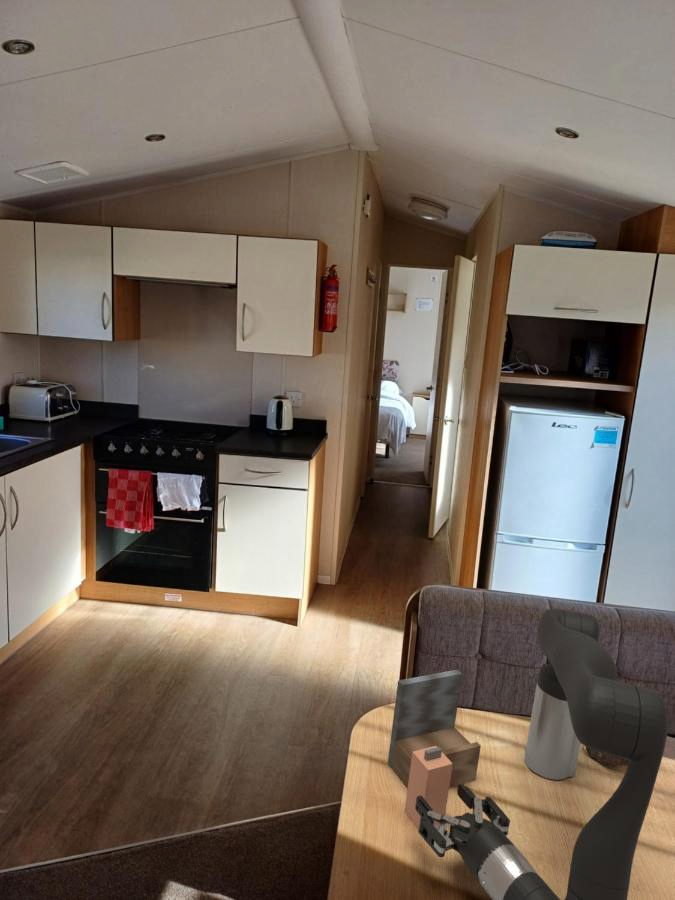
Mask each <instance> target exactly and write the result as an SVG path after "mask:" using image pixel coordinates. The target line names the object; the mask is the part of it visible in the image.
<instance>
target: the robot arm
mask: <svg viewBox="0 0 675 900" xmlns="http://www.w3.org/2000/svg"><path fill="white" fill-rule="evenodd" d="M537 640H538V644H539V647H540V651H541V652H542V654H543V655H544V656H545V657H546V658H547V660H549V662H550V663H548V664H546V665H544V666H542V667H541V668H540V669H539V672H538V674H537V675H538V676H537V682H536V687H535V691H534V692H535V693H534V698H533V699H534V700H533V703H532V704H533V705H532V711H531V716H530V722H529V726H528V727H529V728H528V732H527V739H526V745H525V749H524V758H523V759H524V763H525V764H526V766H527V768H529V770H531V771H532V772H534V773H535V774H537V775H539V776H540V777H543V778H545V779H549V780H555V781H558V780H565V779H567V778H575V775H576V769H577V764H578V759H579V755H580V754H579V753H580V749H581V745H582V746H584V747H585V748H586V747H588V748H590V749H592V750H595V751H598V752H602V753H606V754H610V755H614V756H618V757H622V758H627V759H629V761H628V765H627V766H626V768H625V769H626V770H625V772H624V775H623V777H622V779H621V781H620V783H619V785H618V787H617V788H616V790H615V791H614V792H613V793H612V795H611V796H610V797H609V799H608V800H607V801H606V802H605V803H604V804H603V806H602V807H601V808H600V809H598V810H597V812H596V813H595V814H594V815H593V816H592V817H591V818H590V819H589V820H588V821H587V822H586V824H585V825H584V826H583V828H582V829H581V831H580V832H579V834H578V836H577V838H576V840H575V844H574V847H573V851H572V855H571V862H570V868H569V875H568V881H567V882H568V883H567V887H566V888H567V889H566V895H565V898H564V900H628V897H629V896H628V895H629V889H630V882H631V876H632V875H631V874H632V867H633V862H634V857H635V853H636V849H637V844H638V841H639V836H640V835H641V834H640V833H641V831H642V827H643V824H644V822H645V818H646V814H647V811H648V808H649V806H650V802H651V798H652V795H653V791H654V788H655V784H656V780H657V777H658V774H659V772H660V767H661V765H662V760H663V756H664V753H665V749H666V743H667V742H666V741H667V737H668V729H669V725H668V724H669V717H668V716H669V714H668V710H667V706H666V703H665V699H664V697H663V696H662V694H660V693H659V692H658V691H657V690H654V689H652V688H649V687H645V686H641V685H636V684H632V683H631V684H630V683H626V682H622V681H619V680H618V678H619V675H618V668H617V666H616V663H615V660H614V659H613V658H612V656H611V654H610V653H609V652H608V650H607V649H606V648H605V647H604V645H603V644H602V643H600V641H599V640H600V625H599V621H598V620H597V617H596V616H594V615H592V614H589V613H586V612H585V613H584V612H579V611H573V610H567V609H560V608H549V609H547V610H545V611H544V612H543V613H542V614H541V616H540V617H539V621H538V624H537ZM456 795H457V796H458V798H459V799H460V800H461V801H462V802H463V803H464V805H465V806H467V808H468V809H469V810H472V813H470V812H465V813H463V814H462V815H456V816H451V815H449V814H447V813H445V814H443V815H440V814H438V813H435V812H433V809H432V808H431V807H430V805H429V804H428V803H427V802H426V800H425V799H424V798H423V797H422V796H421V795H420V796H417V798H416V805H415V809H416V811H417V812H418V814H419V815H420V816H421V818H420V825H419V830H418V834H419V835H420V836H421V838H422V839H423V840H424V841H425V842H426V843H427V845H428V846H429V847H430V849H432V851H433V852H434V853H435V854H436V856H438V857H439V858H444V857H445V853H446V852H447V851H450V850H453V851H455V852H456V853H458V854H459V855H460V856H461V859H462V861H463V863H464V865H465V866H466V868H467V869H468V870H469V872H470V873H471V874H472V876H473V877H474V878H475V879H476V881H477V882H478V883H479V884H480V886H481V887H482V888H483V890H484V891H485V892H486V894H487V895H488V896H489V898H491V900H562V899H561V898H559V897H558V896H557V894H556V893H555V892H554V891H553V889H552V888H551V887H550V886H549V885H548V884H547V883H546V882H545V881H544V880H543V878H542V877H541V875H539V873H537V871H536V870H535V868H534V867H533V865H532V864H531V863H530V861H529V860H528V858H526V856H525V855H524V854H523V853H522V852H521V851H520V850H519V849H518V847H517V846H515V844H514V843H513V842H512V841H511V840H510V838H508V834H509V829H510V824H511V819H510V818H509V817H508V816H507V815H506V813H505V812H504V811H503V810H502V809H501V808H500V806H499V805H498V804H497V803H496V802H495V800H494V799H493V798H492V797H490V796H486V797H485V798H481V797H480V796H477V795H476V794H475V793H474V792H473V791H472V790H471V789H470V787H468V786H467V785H465V783H463V784H459V785H457V790H456ZM483 813H484V814H483ZM483 815H485V816H486V817H487V818H488V819H489V820H488V819H486V818H484V817H483ZM434 820H435V821H437V822H439V823H440V825H438V824H435V823H434ZM447 824H448V825H449V831H448V830H447Z"/></svg>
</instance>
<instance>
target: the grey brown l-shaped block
mask: <svg viewBox="0 0 675 900" xmlns="http://www.w3.org/2000/svg"><path fill="white" fill-rule="evenodd" d="M462 680H463V672H461V671H460V670H459V669H453V670H447V671H443V672H437V673H432V674H425V675H421V676H416V677H411V678H405V679H399V680H397V688H396V693H395V694H396V695H395V702H394V710H393V718H392V719H393V720H392V726H391V734H390V744H389V748H388V749H389V750H388V758H387V764H388V766H389V767H390V768H391V769H392V770H393V772H394V773H395V774H396V776H397V777H398V778H399V780H400V781H401V782H402V784H403V785H404V786H405V787H406V789H408V782H409V774H410V767H411V759H412V752H413V751H417V750H421V749H425V748H429V747H433V746H437V747H440V748H441V749H442V753H443V754H444V755H445V756H446V757H447V758H448V759H449V760H450V761H451V762H452V764H453V766H452V772H451V779H450V786H449V788H453V787H456V786H458V785H459V784H465V783H471V782H473V781H476V779H477V772H478V767H479V766H478V765H479V759H480V753H481V747H482V745H481V744H480V743H479V742H478V741H476V742H472V743H471V742H470V741H469V740H468V739H467V738H466V737H465V736H464V735H463V734H462V733H461V732H460V731H459V730H458V729H457V728H456V726H455V725H456V719H457V713H458V706H459V699H460V693H461V686H462Z"/></svg>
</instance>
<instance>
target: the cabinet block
mask: <svg viewBox="0 0 675 900" xmlns="http://www.w3.org/2000/svg"><path fill="white" fill-rule="evenodd" d="M452 766H453V764H452V762H451V761H450V760H449V759H448V758H447V757H446V756H445V755H444V754H443V753H442V749H441V748H440V747H437V746H433V747H429V748H425V749H421V750H417V751H413V752H412V759H411V767H410V774H409V782H408V789H407V788H406V789H407V790H406V791H407V792H406V797H405V804H404V805H405V806H404V813H406V815H407V816H408V818H409V819H410V821H412V823H413V824H414V826H415V827H416V829H417V830H418V831H419V825H420V818H421V816H420V815H419V814H418V812H417V811H416V809H415V805H416V798H417V796H420V795H421V796H422V797H423V798H424V799H425V800H426V802H427V803H428V804H429V805H430V807H431V808H432V809H433V812H435V813H438V814H440V815H443V814H447V813H446V812H447V805H448V804H447V803H448V798H449V790H450V787H449V786H450V779H451V772H452ZM434 823H435V824H438V825H440V823H439V822H437V821H435V820H434Z"/></svg>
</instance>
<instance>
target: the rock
mask: <svg viewBox="0 0 675 900" xmlns="http://www.w3.org/2000/svg"><path fill="white" fill-rule="evenodd" d="M585 750H586V751H587V753H588V754H589V755H590V756H591V758H593V759H596V760H597V761H598V762H599V763H602V764H604V765H609V766H620V767H622V766H626V767H627V765H628V761H629V759H627V758H622V757H618V756H614V755H610V754H606V753H602V752H598V751H595V750H592V749H590V748H588V747H586V746H585Z"/></svg>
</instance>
